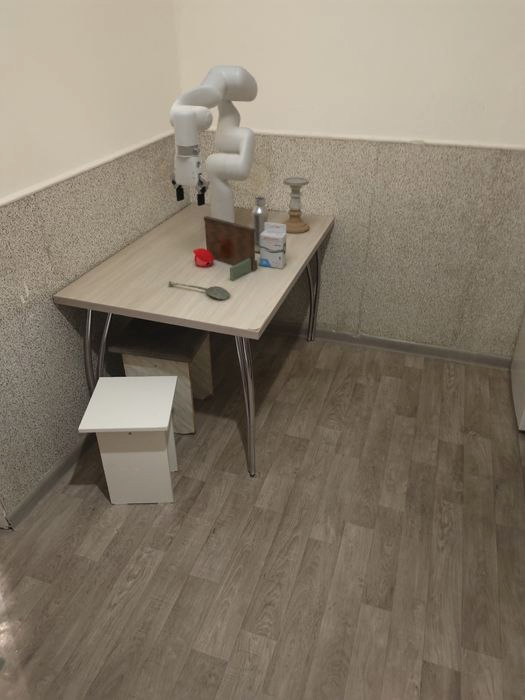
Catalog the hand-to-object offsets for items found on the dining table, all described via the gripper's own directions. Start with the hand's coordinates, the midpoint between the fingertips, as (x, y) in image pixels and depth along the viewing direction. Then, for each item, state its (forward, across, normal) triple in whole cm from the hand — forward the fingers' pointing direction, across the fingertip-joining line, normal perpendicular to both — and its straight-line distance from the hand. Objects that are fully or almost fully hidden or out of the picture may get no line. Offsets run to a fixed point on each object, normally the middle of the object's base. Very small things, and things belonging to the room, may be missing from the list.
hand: (190, 202), depth 177 cm
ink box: (+21, -26, -13) cm, 36 cm away
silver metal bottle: (+21, -14, -21) cm, 33 cm away
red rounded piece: (+21, -5, +1) cm, 22 cm away
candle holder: (+21, -11, -50) cm, 56 cm away
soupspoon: (+22, -19, +19) cm, 35 cm away
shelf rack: (+21, -12, -1) cm, 25 cm away
